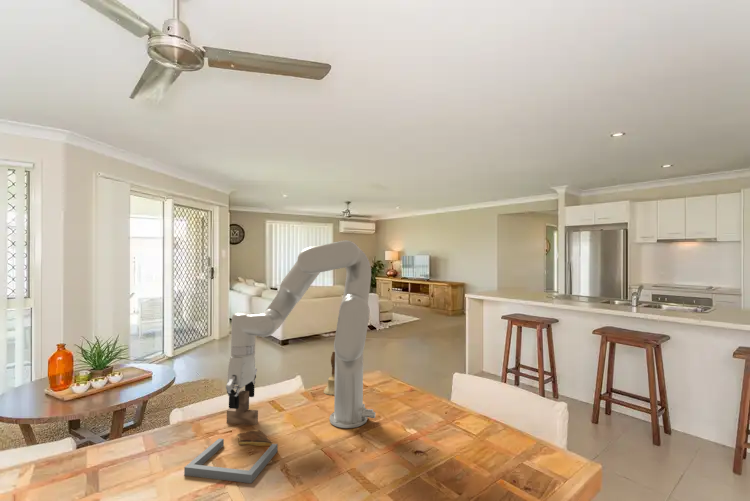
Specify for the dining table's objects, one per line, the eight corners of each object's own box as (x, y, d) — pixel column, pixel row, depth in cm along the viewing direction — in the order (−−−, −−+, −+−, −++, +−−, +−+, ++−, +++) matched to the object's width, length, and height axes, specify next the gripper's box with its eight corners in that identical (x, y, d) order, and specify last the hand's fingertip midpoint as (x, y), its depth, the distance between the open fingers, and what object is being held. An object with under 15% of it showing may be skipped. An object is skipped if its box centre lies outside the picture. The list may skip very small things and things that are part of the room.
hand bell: (319, 391, 146) (319, 351, 147) (336, 386, 152) (336, 348, 152) (331, 397, 140) (331, 356, 140) (348, 391, 146) (348, 352, 146)
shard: (272, 447, 104) (272, 441, 104) (246, 456, 99) (246, 449, 99) (258, 433, 112) (258, 427, 112) (233, 440, 107) (233, 434, 107)
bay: (277, 451, 101) (277, 444, 101) (251, 483, 86) (251, 474, 86) (218, 445, 104) (218, 438, 104) (184, 475, 89) (184, 467, 89)
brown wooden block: (258, 421, 119) (259, 391, 119) (254, 426, 116) (254, 394, 116) (230, 419, 120) (231, 389, 121) (225, 423, 117) (226, 392, 118)
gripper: (246, 343, 128) (245, 391, 127) (217, 356, 111) (215, 412, 110) (265, 344, 126) (264, 393, 126) (239, 357, 109) (238, 414, 109)
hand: (241, 402), depth 118 cm, fingers open, 9 cm apart
